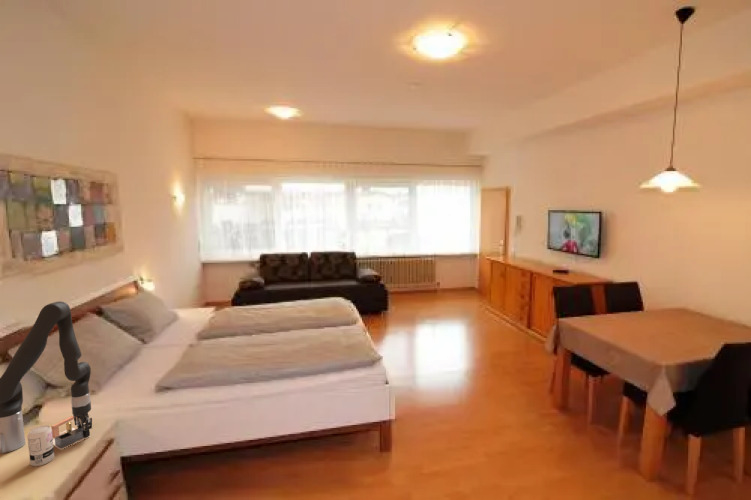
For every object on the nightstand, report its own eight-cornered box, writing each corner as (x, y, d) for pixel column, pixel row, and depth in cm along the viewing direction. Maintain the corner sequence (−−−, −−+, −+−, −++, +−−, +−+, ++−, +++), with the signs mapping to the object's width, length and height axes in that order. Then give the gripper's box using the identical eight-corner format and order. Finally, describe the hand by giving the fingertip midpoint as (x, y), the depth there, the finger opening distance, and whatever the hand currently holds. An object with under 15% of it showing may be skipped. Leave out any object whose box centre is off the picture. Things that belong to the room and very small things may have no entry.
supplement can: (29, 461, 172) (26, 430, 171) (53, 453, 179) (50, 422, 177) (31, 469, 167) (28, 437, 166) (55, 460, 173) (52, 429, 172)
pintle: (68, 439, 190) (67, 424, 189) (66, 438, 191) (65, 423, 190) (73, 437, 192) (71, 422, 191) (71, 436, 192) (70, 421, 192)
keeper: (55, 438, 190) (54, 426, 190) (52, 438, 191) (51, 425, 190) (75, 427, 200) (74, 416, 200) (73, 427, 201) (72, 415, 200)
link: (61, 448, 181) (60, 440, 181) (55, 445, 184) (54, 437, 184) (90, 435, 192) (89, 427, 192) (84, 432, 195) (83, 425, 194)
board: (61, 450, 181) (61, 449, 181) (44, 440, 190) (44, 439, 189) (89, 437, 191) (89, 436, 191) (72, 428, 200) (72, 427, 200)
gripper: (65, 403, 191) (68, 435, 192) (79, 409, 184) (82, 442, 185) (82, 396, 197) (85, 427, 199) (97, 402, 190) (99, 435, 192)
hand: (84, 435), depth 192 cm, fingers open, 5 cm apart
